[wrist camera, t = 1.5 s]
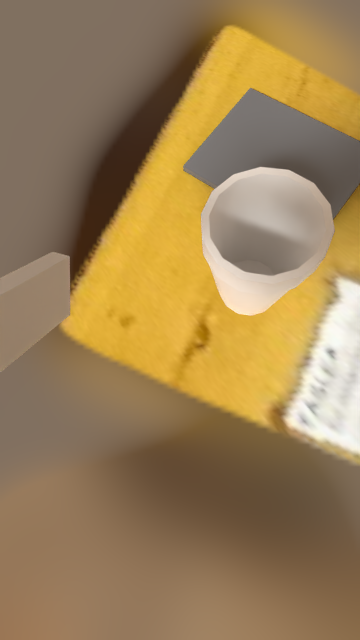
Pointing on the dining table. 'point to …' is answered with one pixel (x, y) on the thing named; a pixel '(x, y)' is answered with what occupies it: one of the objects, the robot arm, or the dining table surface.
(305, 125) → the rubber mat
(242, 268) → the foam cup
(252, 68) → the dining table surface
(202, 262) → the dining table surface
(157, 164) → the dining table surface
